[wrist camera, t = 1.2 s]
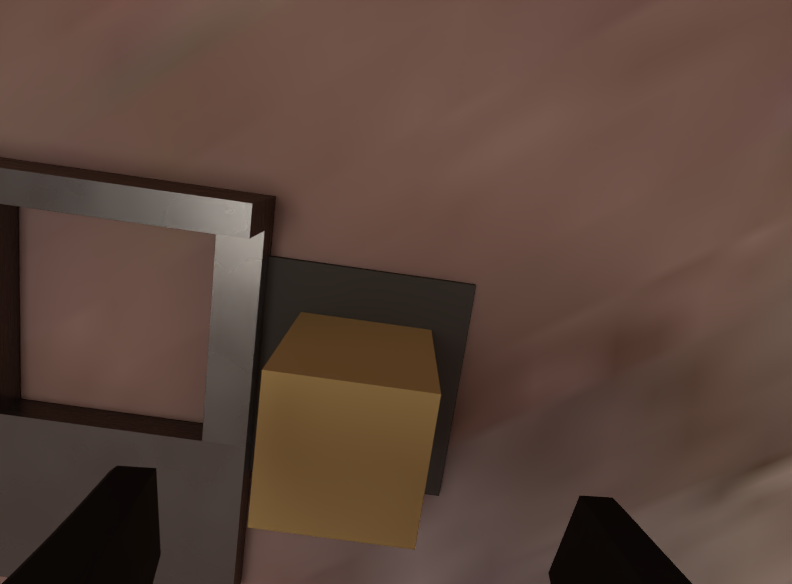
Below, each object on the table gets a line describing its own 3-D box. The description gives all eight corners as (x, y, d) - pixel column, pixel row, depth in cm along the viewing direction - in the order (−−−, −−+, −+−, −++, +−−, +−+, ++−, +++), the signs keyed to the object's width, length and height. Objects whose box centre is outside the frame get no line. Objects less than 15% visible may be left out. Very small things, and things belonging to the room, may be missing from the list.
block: (412, 448, 21) (414, 549, 15) (288, 431, 21) (247, 527, 15) (431, 329, 20) (440, 394, 14) (300, 311, 20) (261, 369, 14)
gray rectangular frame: (240, 582, 22) (215, 646, 20) (-17, 548, 22) (-82, 608, 19) (275, 196, 19) (252, 203, 16) (-29, 153, 19) (-108, 152, 16)
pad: (438, 492, 21) (438, 495, 21) (251, 467, 21) (249, 470, 21) (475, 284, 20) (476, 285, 19) (270, 255, 19) (269, 256, 19)
